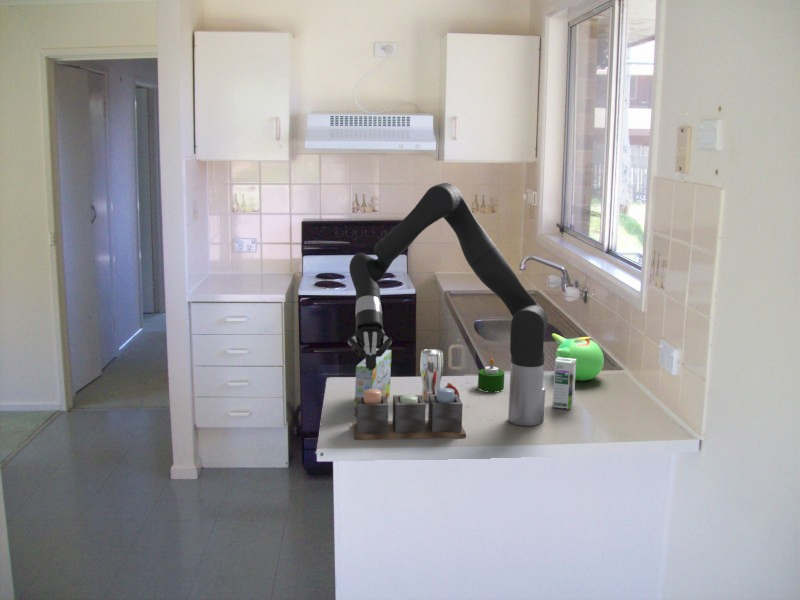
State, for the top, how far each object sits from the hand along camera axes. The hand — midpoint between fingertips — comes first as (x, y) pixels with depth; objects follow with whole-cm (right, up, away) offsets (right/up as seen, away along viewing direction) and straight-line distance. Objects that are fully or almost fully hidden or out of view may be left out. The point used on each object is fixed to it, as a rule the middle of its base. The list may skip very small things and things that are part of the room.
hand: (371, 368), depth 231 cm
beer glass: (+17, -12, +27) cm, 34 cm away
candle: (+37, -10, +39) cm, 54 cm away
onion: (+22, -14, +19) cm, 32 cm away
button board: (+10, -17, 0) cm, 20 cm away
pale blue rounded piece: (+20, -10, -1) cm, 23 cm away
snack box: (0, -13, +20) cm, 24 cm away
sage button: (+10, -12, -1) cm, 16 cm away
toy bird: (+67, -8, +51) cm, 84 cm away
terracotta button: (0, -10, -3) cm, 11 cm away
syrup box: (+57, -13, +23) cm, 63 cm away
